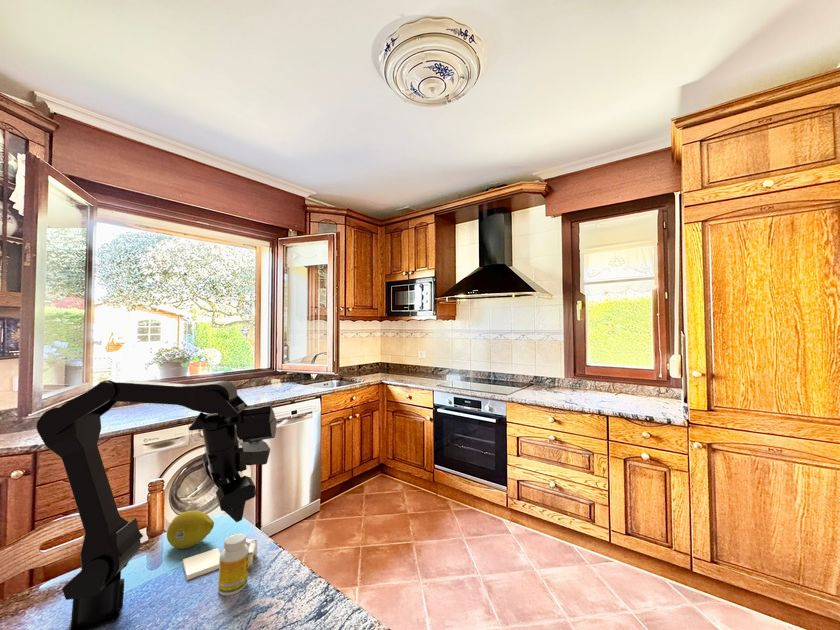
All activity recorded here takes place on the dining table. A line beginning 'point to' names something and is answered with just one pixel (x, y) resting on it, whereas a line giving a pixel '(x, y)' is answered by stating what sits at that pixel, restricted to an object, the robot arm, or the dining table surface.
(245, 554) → the supplement bottle
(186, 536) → the lemon
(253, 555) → the bent steel bracket
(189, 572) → the cream coaster
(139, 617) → the dining table surface
